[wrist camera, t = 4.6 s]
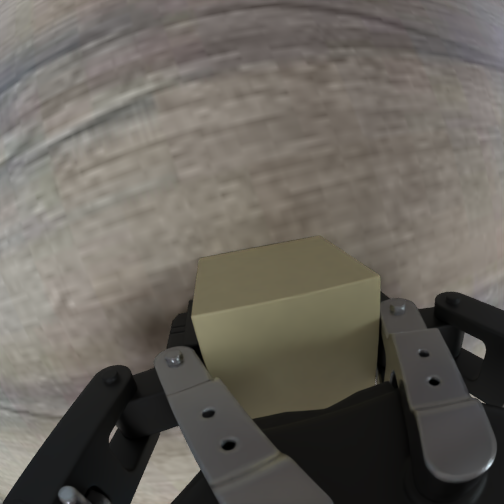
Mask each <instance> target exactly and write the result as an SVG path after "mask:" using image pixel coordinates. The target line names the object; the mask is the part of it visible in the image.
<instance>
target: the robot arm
mask: <svg viewBox="0 0 504 504" xmlns="http://www.w3.org/2000/svg"><path fill="white" fill-rule="evenodd" d="M192 306H193V300H189V305H188V312H187V313H181V314H178V315H177V316H176V318H175V319H174V320H173V322H172V326H171V330H170V335H169V339H168V344H167V349H166V350H164V351H162V352H160V353H159V354H158V355H157V356H156V357H155V359H154V368H152V369H150V370H148V371H145V372H142V373H139V374H135V375H132V373H131V371H130V369H129V368H128V367H126V366H122V365H115V366H110V367H107V368H105V369H103V370H101V371H99V372H98V373H97V374H96V375H95V376H94V377H93V379H92V380H91V381H90V382H89V384H88V385H87V386H86V388H85V389H84V390H83V391H82V393H81V394H80V395H79V397H78V398H77V399H76V401H75V402H74V403H73V404H72V406H71V407H70V408H69V410H68V411H67V412H66V414H65V415H64V416H63V418H62V419H61V420H60V422H59V423H58V424H57V426H56V427H55V428H54V430H53V431H52V432H51V434H50V435H49V437H48V438H47V439H46V441H45V442H44V443H43V445H42V446H41V448H40V449H39V450H38V452H37V453H36V455H35V456H34V457H33V459H32V460H31V462H30V463H29V464H28V466H27V467H26V469H25V470H24V472H23V473H22V475H21V476H20V477H19V479H18V480H17V482H16V483H15V485H14V486H13V488H12V489H11V491H10V492H9V494H8V495H7V497H6V498H5V500H4V502H3V504H130V503H131V501H132V499H133V496H134V494H135V492H136V489H137V487H138V485H139V482H140V480H141V478H142V475H143V473H144V471H145V468H146V466H147V464H148V461H149V459H150V457H151V454H152V452H153V450H154V447H155V445H156V443H157V440H158V438H159V435H160V432H161V431H164V430H167V429H170V428H173V427H176V426H179V427H180V429H181V431H182V433H183V435H184V438H185V440H186V442H187V444H188V446H189V448H190V450H191V452H192V454H193V456H194V458H195V460H196V462H197V463H198V465H199V467H200V469H201V470H200V471H199V472H198V474H197V475H196V476H195V477H194V478H193V479H192V481H191V482H190V483H189V484H188V485H187V486H186V487H185V488H184V490H183V491H182V492H181V493H180V494H179V495H178V496H177V497H176V498H175V499H174V501H173V502H172V503H171V504H504V311H503V310H501V309H499V308H496V307H494V306H491V305H489V304H486V303H484V302H481V301H479V300H476V299H474V298H471V297H469V296H466V295H464V294H461V293H457V292H444V293H441V294H439V295H437V296H436V298H435V307H431V308H424V309H417V307H416V305H415V304H414V303H413V302H412V301H410V300H407V299H402V298H393V299H390V298H388V297H387V296H386V295H385V294H383V293H382V292H381V291H380V324H379V343H378V357H377V369H376V380H377V385H374V386H372V387H369V388H366V389H363V390H360V391H357V392H356V393H354V394H352V395H350V396H348V397H347V398H345V399H343V400H341V401H339V402H338V403H336V404H334V405H332V406H330V407H328V408H325V409H318V410H306V411H290V412H282V413H278V414H273V415H269V416H264V417H259V418H254V419H251V417H250V416H249V415H248V414H247V412H246V411H245V410H244V409H243V407H242V406H241V405H240V404H239V402H238V401H237V400H236V398H235V397H234V396H233V395H232V393H231V392H230V391H229V389H228V388H227V387H226V385H225V384H224V383H223V381H222V380H221V379H220V378H219V377H215V378H213V377H212V376H211V375H210V373H209V372H208V370H207V369H206V367H205V364H204V360H203V357H202V354H201V350H200V347H199V344H198V340H197V337H196V333H195V330H194V326H193V323H192V319H191V314H192ZM465 332H466V333H468V334H470V335H472V336H474V337H476V338H478V339H480V340H482V341H483V342H484V344H485V346H486V354H485V358H484V359H482V358H480V357H478V356H476V355H474V354H472V353H471V352H469V351H467V350H465V349H463V348H461V347H462V342H463V338H464V333H465ZM469 393H470V394H472V395H473V396H475V397H477V398H478V399H480V400H481V401H483V402H484V403H481V402H480V401H479V400H478V399H477V398H472V397H471V396H470V394H469ZM485 403H486V404H485ZM115 425H116V426H117V427H118V429H117V431H116V432H115V434H114V436H113V438H112V439H111V441H110V443H109V436H110V433H111V432H112V430H113V428H114V426H115Z"/></svg>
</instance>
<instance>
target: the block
mask: <svg viewBox="0 0 504 504" xmlns="http://www.w3.org/2000/svg"><path fill="white" fill-rule="evenodd" d="M191 319H192V323H193V326H194V330H195V333H196V337H197V340H198V344H199V347H200V350H201V354H202V357H203V360H204V364H205V367H206V369H207V370H208V372H209V373H210V375H211V376H212V377H213V378H215V377H219V378H220V379H221V380H222V381H223V383H224V384H225V385H226V387H227V388H228V389H229V391H230V392H231V393H232V395H233V396H234V397H235V398H236V400H237V401H238V402H239V404H240V405H241V406H242V407H243V409H244V410H245V411H246V412H247V414H248V415H249V416H250V417H251V419H254V418H259V417H264V416H269V415H273V414H278V413H282V412H290V411H306V410H318V409H325V408H328V407H330V406H332V405H334V404H336V403H338V402H339V401H341V400H343V399H345V398H347V397H348V396H350V395H352V394H354V393H356V392H357V391H360V390H363V389H366V388H369V387H372V386H374V385H375V379H376V369H377V357H378V343H379V324H380V275H378V274H377V273H375V272H374V271H372V270H371V269H369V268H368V267H367V266H365V265H364V264H362V263H361V262H359V261H358V260H356V259H355V258H353V257H352V256H350V255H349V254H347V253H346V252H344V251H343V250H341V249H340V248H338V247H336V246H335V245H333V244H332V243H330V242H329V241H327V240H326V239H324V238H323V237H321V236H315V237H309V238H304V239H299V240H293V241H288V242H283V243H277V244H272V245H267V246H262V247H256V248H251V249H246V250H240V251H235V252H230V253H225V254H219V255H214V256H209V257H204V258H199V262H198V269H197V276H196V283H195V290H194V298H193V306H192V314H191Z"/></svg>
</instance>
